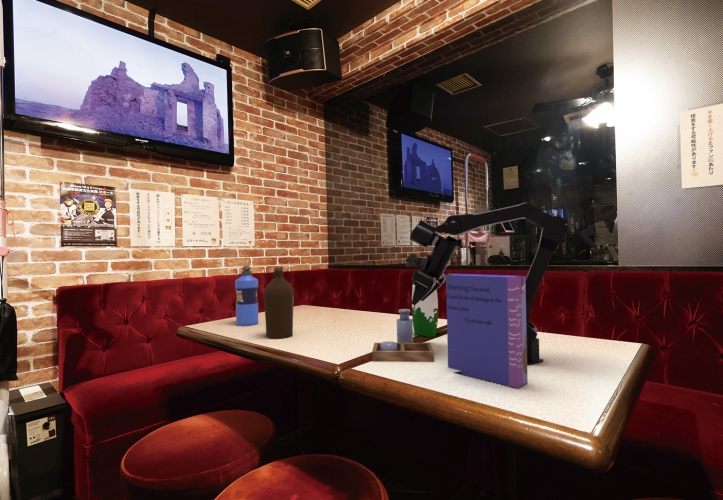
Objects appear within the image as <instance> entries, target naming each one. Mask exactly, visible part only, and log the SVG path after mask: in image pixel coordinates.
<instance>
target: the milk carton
mask: <svg viewBox="0 0 723 500" xmlns="http://www.w3.org/2000/svg"><path fill="white" fill-rule="evenodd" d="M411 287H412V289H411V290H412V292H411V300H412V299H413V295H414V290H415V285H414V283H413V282H412V285H411ZM437 291H438V290H437V289H436V290H435V291H434V292H433V293H432V294H431V295H429V296H428V297H427V298H426V299H425V300H424V301H421V300H420V301H419V302H418V303H417V304H416V305H413V304H412V303H411V311H412V312H411V315H412V316H411V319H412V320H413V336H415V335H425V336H427V337H428V338H431V337H432V338H436V336H437V335H436V334H437V329H438V322H439V321H438V320H439V308H438V307H439V299H438V292H437Z"/></svg>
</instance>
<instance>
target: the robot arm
mask: <svg viewBox="0 0 723 500" xmlns="http://www.w3.org/2000/svg"><path fill="white" fill-rule="evenodd" d="M522 219H524V220H526V222H527V221H528V222H529V223H531V224H532V225H534V226H536V227H537V228H539V229H540V230H541V231H540V236H539V237H540V238H539V242H538V248H537V251H536V252H535V256H534V259H533V260H532V263H531V266H530V268H529V270H528V273H527V275H526V276H525V290H526V334H527V366H528V365H529V366H530V365H533V364H536V363H541V362H544V359H543V358H541V357H540V338H538V329H537V327H536V325H534V324H533V323H532V322H531V321H530V318H531V313H532V307H533V301H534V299H535V298H536V294H537V293H538V290H539V287H540V285H541V283H542V280H543V278H544V276H545V273H546V270H547V268H548V267H549V264H550V262H551V258H552V256H553V254H554V253H555V251H556V249H557V248H558V247H559V245H560V244H561V243H562V241H563V240H564V238H565V237H566V236H567V233H568V232H569V228H570V226H569V225H570V224H569V223H568V221H567V220H566V218H564V217H563V216H559V215H554V216H553V215H551V214H549V213H547V212H545V211H544V210H541V209H539V208H538V207H536V206H534V205H533V204H531V203H530V202H522V203H520V204H516V205H512V206H507V207H502V208H499V209H494V210H490V211H484V212H480V213H461V214H451V215H449V216H448V217H447V218H446V220H445V221H444V222H443V223H441V224H438V225H436V226H433V225H431V224H429V223H427V222H426V221H424V220H422V219H420V220H419V222H418V223H417V224H416V225H415V226H414V228H413V229H412V231H411V233H410V236H409V240H410V241H411V242H413V243H415V244H418V245H419V246H421V247H423V248H426V249H428V248H430V247H431V248H432V247H433V249H432V250H431V253H429V254H426V255H427V256H426V257H423V256H418V254H416V253H410V255H407V256H406V259H405V262H406V267H407V268H411V267H412V268H419V270H415V271H413V272H412V275H411V280H412V284H413V283H414V285H415V290H414V295H413V299H412V298H411V305H412V304H413V305H416V304H417V303H418V302H419V301H420V300H421V301H424V300H425V299H426V298H427V297H428V296H429V295H431V294H432V293H433V292H434V291H435V290H436V291H437V290H438V289H439V288H440V287H441V286H442V285H444V283H445V282H446V274H445V273H444V272H445V271H446V269H447V267H449V266H450V261H451V260H452V257H453V255H454V253H455V251H456V249H457V247H458V248H460V249H465V247H466V246H465V245H464V242H463V238H459V239H457V238H455V237H452V236H457V237H459V236H460V237H461V236H463V235H465V234H468V233H470V232H472V231H473V232H474V231H475V230H477V229H480V228H483V227H488V226H493V225H497V224H502V223H507V222H513V221H517V220H522ZM441 234H443V235H447V236H446V237H445V236H442V235H441ZM451 235H452V236H451Z"/></svg>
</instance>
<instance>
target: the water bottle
mask: <svg viewBox="0 0 723 500" xmlns="http://www.w3.org/2000/svg"><path fill="white" fill-rule="evenodd" d="M241 269H242V270H241V271H240V272H241V273H240V274H241V276H240V277H239V278H237V279H235V281H234V283H235V284H234V285H235V287H234V288H235V291H236V292H235V293H236V302H235V316H236V317H235V319H236V320H235V323H236V326H237V327H253V326H257V325H259V301H258V287H259V280H258V279H257V278H256V277H254V276H253V275H252V273H253V272H252V268H251V267H250V266H249V265H244V266H243V267H241Z"/></svg>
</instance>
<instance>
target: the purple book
mask: <svg viewBox="0 0 723 500" xmlns="http://www.w3.org/2000/svg"><path fill="white" fill-rule="evenodd" d="M445 276H446V279H445V285H446V287H445V288H446V289H445V291H446V328H447V329H446V330H447V331H446V333H447V334H446V335H447V337H446V338H447V341H446V342H447V368H449V369H452V370H457V371H454V372H453V374H456V375H459V376H463V377H468V378H471V379H476V380H479V379H480V380H479V381H483V380H484V382H487V381H488V383H491V382H492V384H495V383H496V385H499V384H500V385H499V386H504V387H508V388H512V389H516V390H519V389H521V388H523V387H524V386H526V385H529V384H528V383H529V382H528V380H529V379H528V365H527V334H526V290H525V280H526V276H525V275H511V274H510V275H509V274H507V275H506V274H505V275H504V274H503V275H502V274H474V273H448V274H445Z"/></svg>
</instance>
